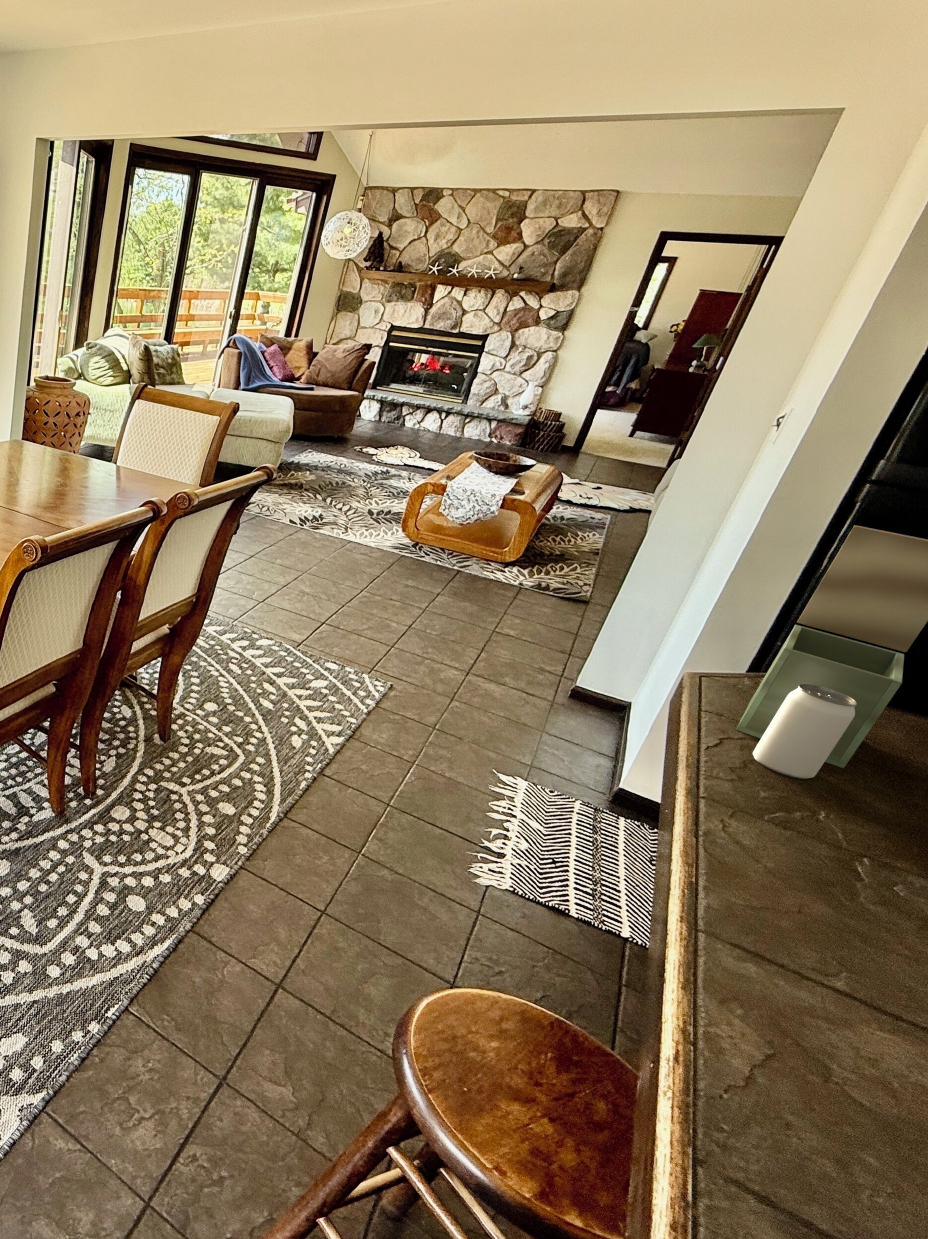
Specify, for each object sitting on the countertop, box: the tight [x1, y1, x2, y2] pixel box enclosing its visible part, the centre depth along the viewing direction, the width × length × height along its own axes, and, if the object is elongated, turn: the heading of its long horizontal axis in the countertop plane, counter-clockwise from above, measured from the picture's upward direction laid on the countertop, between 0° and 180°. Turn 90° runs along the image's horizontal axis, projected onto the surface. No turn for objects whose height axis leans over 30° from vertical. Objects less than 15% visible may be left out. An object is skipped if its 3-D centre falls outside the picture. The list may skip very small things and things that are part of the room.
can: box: [752, 684, 857, 780], centre depth 103 cm, size 6×6×12 cm
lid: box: [796, 524, 928, 653], centre depth 110 cm, size 16×12×1 cm
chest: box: [735, 624, 905, 769], centre depth 112 cm, size 16×12×14 cm
